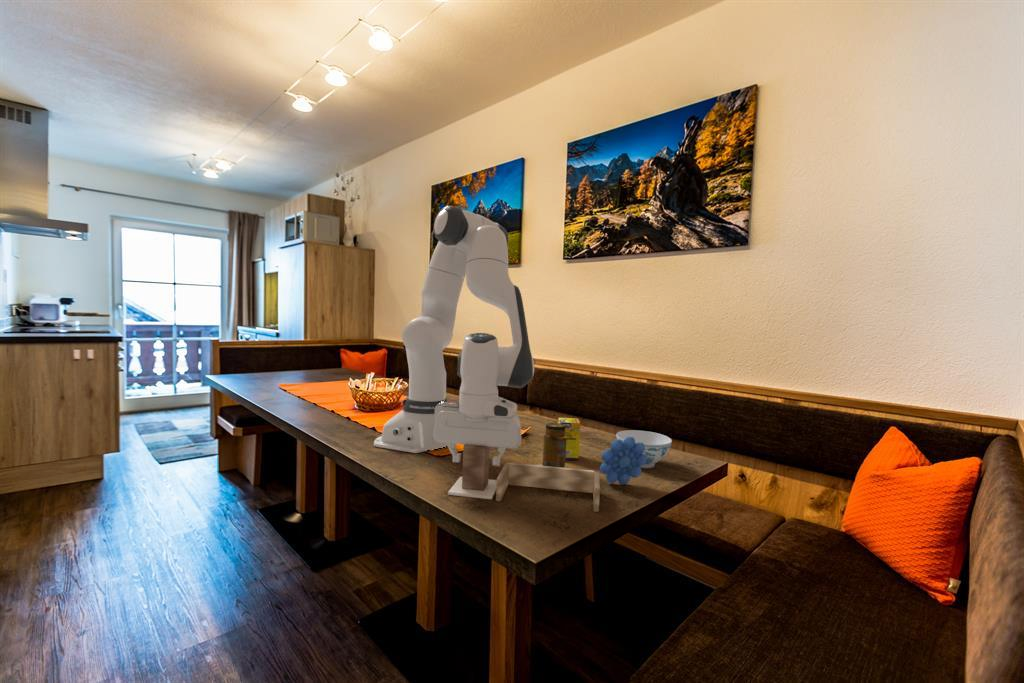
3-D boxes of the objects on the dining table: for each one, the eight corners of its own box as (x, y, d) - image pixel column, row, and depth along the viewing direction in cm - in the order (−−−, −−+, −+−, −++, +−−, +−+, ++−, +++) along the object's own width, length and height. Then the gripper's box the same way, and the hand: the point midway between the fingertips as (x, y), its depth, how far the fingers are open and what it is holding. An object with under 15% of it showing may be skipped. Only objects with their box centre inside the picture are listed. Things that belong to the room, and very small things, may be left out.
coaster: (448, 494, 100) (448, 492, 100) (460, 478, 110) (460, 476, 110) (491, 499, 99) (492, 496, 99) (500, 483, 109) (500, 480, 109)
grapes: (639, 478, 116) (642, 432, 115) (649, 488, 109) (652, 439, 108) (594, 477, 115) (597, 431, 114) (601, 487, 108) (603, 438, 108)
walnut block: (461, 488, 103) (463, 445, 102) (467, 481, 107) (469, 439, 107) (483, 491, 102) (485, 447, 101) (488, 483, 107) (489, 441, 106)
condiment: (561, 464, 125) (563, 421, 124) (573, 475, 116) (575, 429, 116) (536, 465, 123) (538, 421, 122) (546, 476, 115) (548, 430, 114)
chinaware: (677, 463, 129) (678, 437, 129) (659, 477, 117) (661, 448, 117) (627, 452, 138) (628, 427, 138) (606, 464, 126) (607, 437, 126)
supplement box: (579, 461, 128) (580, 422, 127) (557, 460, 128) (559, 422, 127) (576, 454, 134) (578, 418, 133) (556, 453, 134) (557, 417, 133)
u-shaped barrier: (495, 500, 98) (496, 478, 98) (504, 482, 109) (505, 462, 109) (598, 511, 95) (599, 488, 94) (597, 491, 106) (598, 471, 105)
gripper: (430, 403, 102) (428, 463, 103) (519, 410, 99) (517, 472, 100) (439, 398, 108) (437, 455, 109) (523, 404, 105) (521, 463, 106)
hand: (476, 463), depth 104 cm, fingers open, 8 cm apart
